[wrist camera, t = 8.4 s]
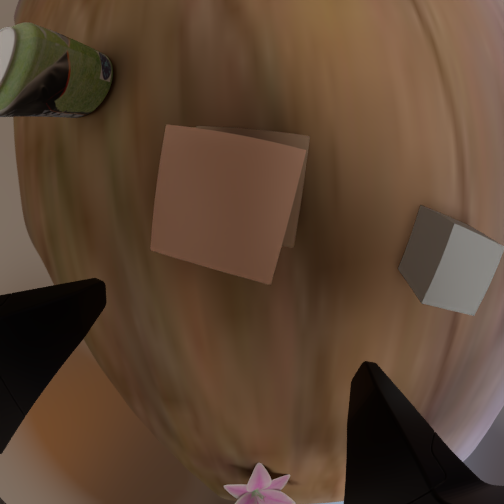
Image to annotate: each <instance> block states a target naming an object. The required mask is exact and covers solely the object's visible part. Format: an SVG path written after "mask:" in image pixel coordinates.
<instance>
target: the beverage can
mask: <svg viewBox="0 0 504 504" xmlns="http://www.w3.org/2000/svg"><path fill="white" fill-rule="evenodd" d="M112 78H113V68H112V64H111V61H110V60H109V58H108V57H107V56H106V55H105V54H103V53H101V52H99V51H97V50H95V49H93V48H91V47H89V46H86V45H84V44H82V43H80V42H78V41H75V40H73V39H71V38H68V37H66V36H64V35H61V34H59V33H56V32H54V31H51V30H49V29H46V28H44V27H41V26H38V25H35V24H33V23H21V24H18V25H15V26H13V27H5V28H3V29H1V30H0V117H15V116H47V117H71V118H78V117H82V116H85V115H87V114H89V113H91V112H92V111H93V110H95V109H96V108H97V107H98V106H99V105H100V104H101V102H102V101H103V100H104V98H105V97H106V95H107V93H108V91H109V89H110V86H111V82H112Z"/></svg>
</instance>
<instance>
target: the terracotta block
mask: <svg viewBox="0 0 504 504" xmlns="http://www.w3.org/2000/svg"><path fill="white" fill-rule="evenodd" d="M305 154H306V150H304V149H300V148H296V147H292V146H288V145H284V144H280V143H275V142H271V141H266V140H262V139H257V138H252V137H247V136H242V135H237V134H231V133H225V132H219V131H213V130H207V129H200V128H193V127H185V126H176V125H167V124H166V129H165V134H164V140H163V146H162V152H161V158H160V164H159V171H158V178H157V186H156V194H155V203H154V212H153V223H152V235H151V249H150V250H151V251H154V252H157V253H161V254H164V255H167V256H171V257H174V258H177V259H181V260H184V261H187V262H191V263H194V264H197V265H201V266H204V267H208V268H211V269H215V270H218V271H222V272H225V273H229V274H232V275H236V276H239V277H243V278H246V279H250V280H254V281H257V282H261V283H265V284H268V285H271V282H272V279H273V275H274V272H275V268H276V265H277V261H278V257H279V254H280V250H281V247H282V243H283V239H284V235H285V232H286V228H287V224H288V221H289V217H290V213H291V209H292V205H293V202H294V198H295V194H296V190H297V186H298V182H299V178H300V174H301V170H302V166H303V162H304V158H305Z"/></svg>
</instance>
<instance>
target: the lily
mask: <svg viewBox="0 0 504 504" xmlns="http://www.w3.org/2000/svg"><path fill="white" fill-rule="evenodd" d="M289 478H290V475H289V474H288V475H285V476H282V477H279V478H276V479H273V480H271V477H270V475H269V473H268V472H267V470H266V469H265V467H264V466H263V465H262V464H261V463H258V464H257V465H256V466H255V468H254V470H253V473H252V475H251V477H250V480H249V482H248V484H247V485H243V484H238V485H224V488H225V489H226V490H227V491H228V492H229V493H230V494H231V495H233V496H234V497H236V498H237V499H238V500H237V502H236V503H235V504H296V503H295V502H294V501H293V500H292V499H291V498H290V497H288V496H287V495H286V494H284V493H283V492H281V491H280V490H281V489H282V488H283V487H284V486H285V484H286V483H287V481H288V480H289Z"/></svg>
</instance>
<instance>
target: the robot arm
mask: <svg viewBox="0 0 504 504" xmlns="http://www.w3.org/2000/svg"><path fill="white" fill-rule="evenodd" d="M105 306H106V287H105V283H104V282H103V281H101V280H99V279H97V278H92V279H86V280H81V281H75V282H70V283H64V284H59V285H53V286H48V287H43V288H37V289H32V290H26V291H21V292H16V293H12V294H5V295H0V454H2V453H3V451H4V449H5V448H6V446H7V444H8V443H9V441H10V440H11V437H12V436H13V435H14V433H15V432H16V430H17V428H18V427H19V425H20V424H21V422H22V421H23V419H24V418H25V416H26V415H27V413H28V412H29V410H30V409H31V407H32V406H33V404H34V403H35V401H36V400H37V399H38V397H39V396H40V395H41V393H42V392H43V390H44V389H45V388H46V386H47V385H48V384H49V382H50V381H51V379H52V378H53V377H54V375H55V374H56V373H57V372H58V370H59V369H60V368H61V366H62V365H63V364H64V362H65V361H66V360H67V359H68V357H69V356H70V355H71V354H72V352H73V351H74V350H75V349H76V347H77V346H78V345H79V344H80V342H81V341H82V340H83V339H84V337H85V336H86V334H87V333H88V332H89V330H90V328H91V327H92V325H93V324H94V322H95V321H96V319H97V318H98V317H99V315H100V314H101V312H102V311H103V309H104V308H105ZM0 504H6V503H5V502H4V501H3V500H2V499H1V498H0ZM344 504H504V486H496V485H491V484H488V483H485V482H483V481H482V480H480V479H479V478H478V477H477V476H476V475H475V474H474V473H473V472H472V471H471V470H470V469H469V468H468V467H467V466H466V465H465V464H464V463H463V462H462V461H461V460H460V459H459V458H458V457H457V456H456V455H455V454H454V453H453V452H452V451H451V450H450V449H449V447H448V446H447V445H446V444H445V443H444V442H443V441H442V439H441V438H440V437H439V436H438V435H437V433H436V432H434V430H433V429H432V427H431V426H430V425H429V424H428V423H427V422H426V420H425V419H424V418H423V417H422V416H421V414H420V413H419V412H418V411H417V410H416V409H415V407H414V406H413V405H412V404H411V403H410V402H409V400H408V399H407V398H406V397H405V396H404V395H403V394H402V392H401V391H400V390H399V389H398V388H397V387H396V385H395V384H394V383H393V382H392V381H391V380H390V379H389V377H388V376H387V375H386V374H385V373H384V372H383V371H382V369H381V368H380V367H379V366H378V365H377V364H376V363H374V362H368V361H365V362H363V363H362V364H361V366H360V368H359V369H358V371H357V372H356V374H355V376H354V377H353V379H352V382H351V389H350V401H349V411H348V420H347V461H346V482H345V496H344Z"/></svg>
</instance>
